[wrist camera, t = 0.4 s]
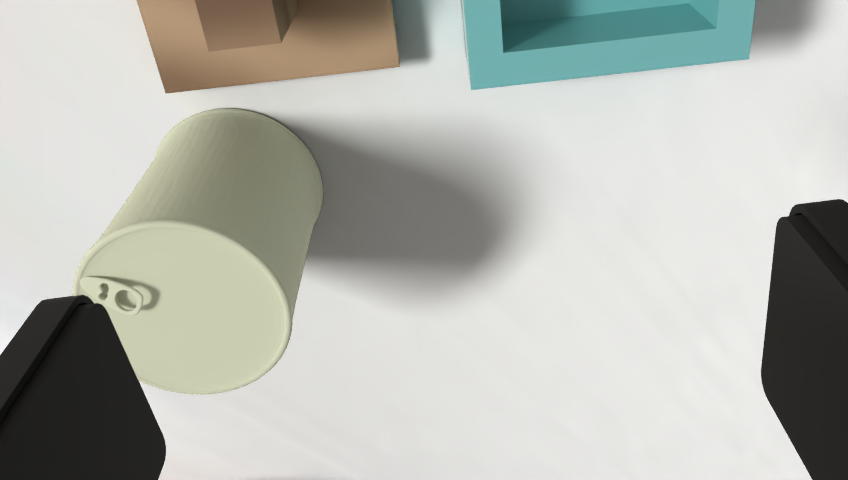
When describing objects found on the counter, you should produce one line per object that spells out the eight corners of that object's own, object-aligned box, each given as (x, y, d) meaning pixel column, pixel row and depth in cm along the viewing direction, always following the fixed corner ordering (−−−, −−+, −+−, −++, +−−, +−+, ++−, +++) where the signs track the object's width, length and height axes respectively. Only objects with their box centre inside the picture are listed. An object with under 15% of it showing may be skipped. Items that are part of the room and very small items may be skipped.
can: (176, 80, 39) (87, 194, 28) (347, 146, 40) (322, 275, 30) (137, 223, 43) (48, 366, 33) (292, 277, 45) (254, 427, 35)
